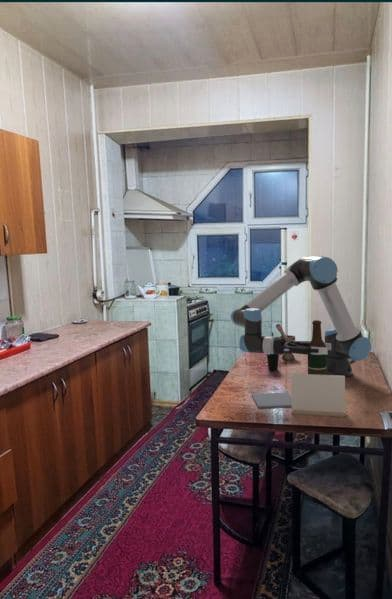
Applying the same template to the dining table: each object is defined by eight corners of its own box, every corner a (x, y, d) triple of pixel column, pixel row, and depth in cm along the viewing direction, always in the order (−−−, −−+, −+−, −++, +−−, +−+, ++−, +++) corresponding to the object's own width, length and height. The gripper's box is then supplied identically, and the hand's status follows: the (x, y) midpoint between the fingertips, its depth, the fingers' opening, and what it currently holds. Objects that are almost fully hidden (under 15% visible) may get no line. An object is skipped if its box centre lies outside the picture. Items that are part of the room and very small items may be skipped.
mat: (287, 394, 202) (287, 392, 202) (297, 406, 186) (297, 404, 186) (251, 395, 201) (251, 393, 201) (258, 408, 186) (258, 406, 186)
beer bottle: (305, 375, 194) (305, 319, 192) (324, 374, 194) (323, 319, 191) (309, 380, 187) (309, 322, 184) (329, 380, 186) (328, 322, 183)
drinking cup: (280, 371, 238) (279, 334, 236) (265, 371, 240) (264, 333, 238) (280, 367, 246) (280, 331, 244) (266, 367, 247) (265, 331, 245)
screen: (344, 411, 179) (344, 374, 178) (345, 416, 174) (345, 378, 172) (292, 408, 184) (291, 372, 183) (291, 413, 179) (291, 376, 177)
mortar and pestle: (274, 359, 264) (273, 325, 262) (276, 356, 272) (276, 323, 270) (294, 360, 260) (294, 326, 258) (296, 357, 268) (296, 323, 266)
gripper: (281, 348, 206) (333, 352, 196) (267, 359, 188) (324, 363, 178) (281, 332, 205) (333, 335, 195) (267, 341, 188) (324, 345, 177)
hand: (329, 348), depth 187 cm, fingers closed on beer bottle, 7 cm apart
